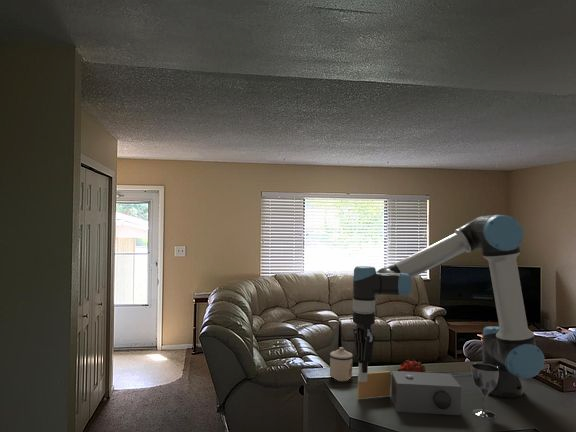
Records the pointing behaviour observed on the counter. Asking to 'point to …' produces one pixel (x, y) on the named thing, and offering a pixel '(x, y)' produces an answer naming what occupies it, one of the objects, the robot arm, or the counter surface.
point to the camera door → (375, 385)
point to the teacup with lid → (341, 364)
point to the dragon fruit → (411, 366)
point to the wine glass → (485, 385)
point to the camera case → (425, 393)
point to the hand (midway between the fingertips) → (362, 381)
